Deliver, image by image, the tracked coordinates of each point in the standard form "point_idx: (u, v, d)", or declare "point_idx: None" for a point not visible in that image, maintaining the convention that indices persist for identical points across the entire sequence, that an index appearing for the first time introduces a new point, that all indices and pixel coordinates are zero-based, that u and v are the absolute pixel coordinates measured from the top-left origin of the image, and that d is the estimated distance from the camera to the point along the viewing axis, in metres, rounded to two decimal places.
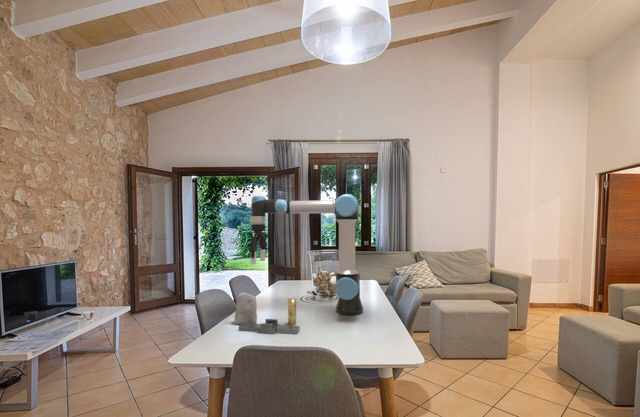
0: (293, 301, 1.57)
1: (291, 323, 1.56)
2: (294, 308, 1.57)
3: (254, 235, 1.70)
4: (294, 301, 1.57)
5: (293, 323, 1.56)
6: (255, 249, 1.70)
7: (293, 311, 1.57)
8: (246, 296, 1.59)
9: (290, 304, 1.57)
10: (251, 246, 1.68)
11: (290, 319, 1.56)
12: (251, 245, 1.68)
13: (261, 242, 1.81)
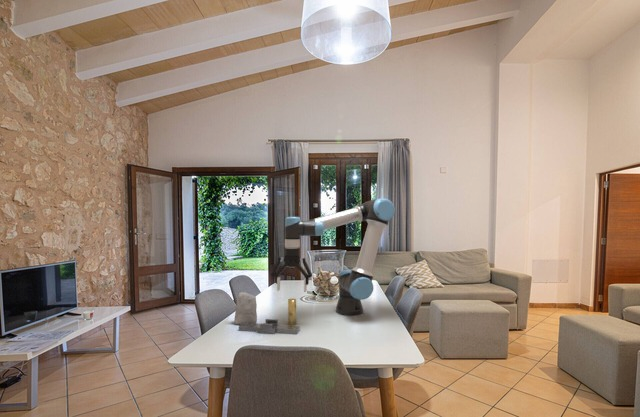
0: (293, 301, 1.57)
1: (291, 323, 1.56)
2: (294, 308, 1.57)
3: None
4: (294, 301, 1.57)
5: (293, 323, 1.56)
6: (277, 274, 1.59)
7: (293, 311, 1.57)
8: (246, 296, 1.59)
9: (290, 304, 1.57)
10: None
11: (290, 319, 1.56)
12: None
13: None
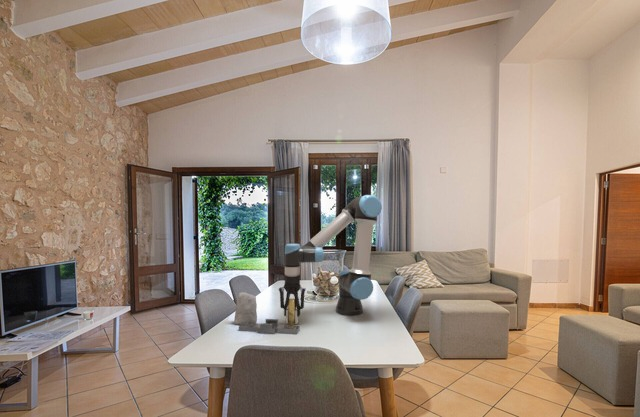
0: (293, 301, 1.57)
1: (291, 323, 1.56)
2: (294, 308, 1.57)
3: None
4: (294, 301, 1.57)
5: (293, 323, 1.56)
6: (286, 306, 1.58)
7: (293, 311, 1.57)
8: (246, 296, 1.59)
9: (290, 304, 1.57)
10: None
11: (290, 319, 1.56)
12: None
13: None
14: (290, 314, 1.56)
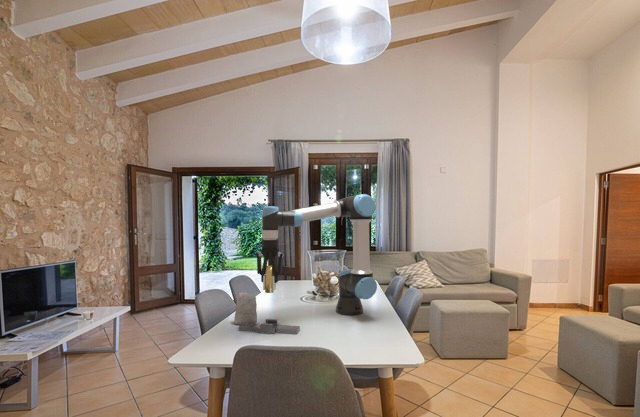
0: (270, 267, 1.48)
1: (268, 291, 1.48)
2: (271, 275, 1.48)
3: None
4: (271, 268, 1.49)
5: (270, 291, 1.48)
6: (263, 272, 1.49)
7: (270, 278, 1.48)
8: (246, 296, 1.59)
9: (267, 271, 1.48)
10: None
11: (267, 286, 1.48)
12: None
13: None
14: (267, 281, 1.48)
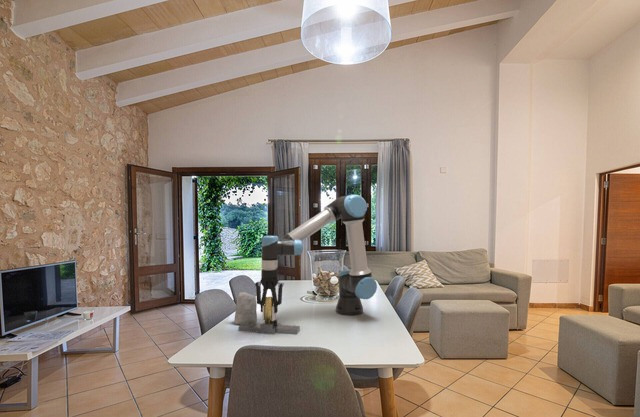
0: (270, 299, 1.47)
1: (267, 323, 1.47)
2: (271, 307, 1.48)
3: None
4: (271, 299, 1.48)
5: (270, 323, 1.47)
6: (262, 302, 1.48)
7: (270, 310, 1.47)
8: (246, 296, 1.59)
9: (267, 302, 1.47)
10: None
11: (266, 318, 1.47)
12: None
13: None
14: (267, 313, 1.47)
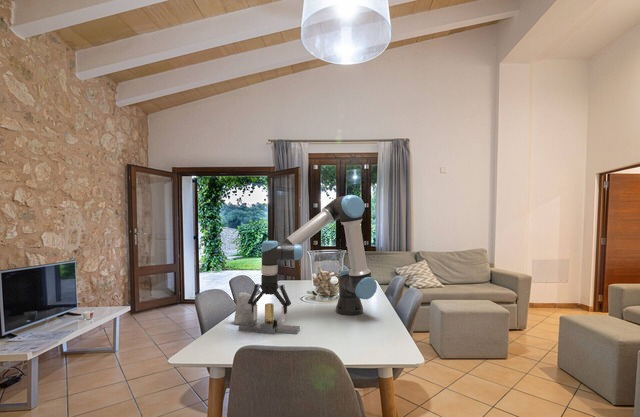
0: (270, 306, 1.47)
1: None
2: (271, 314, 1.48)
3: None
4: (271, 306, 1.48)
5: None
6: (254, 303, 1.49)
7: (270, 317, 1.47)
8: (246, 296, 1.59)
9: (267, 309, 1.47)
10: None
11: None
12: None
13: None
14: (267, 320, 1.47)
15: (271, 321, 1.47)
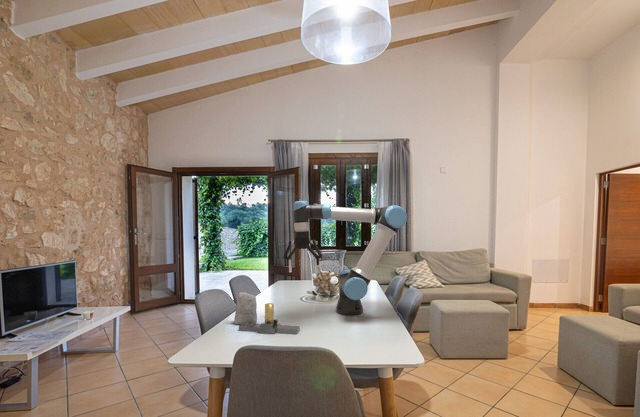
0: (270, 306, 1.47)
1: None
2: (271, 314, 1.48)
3: None
4: (271, 306, 1.48)
5: None
6: (289, 257, 1.66)
7: (270, 317, 1.47)
8: (246, 296, 1.59)
9: (267, 309, 1.47)
10: (285, 254, 1.67)
11: None
12: None
13: None
14: (267, 320, 1.47)
15: (271, 321, 1.47)
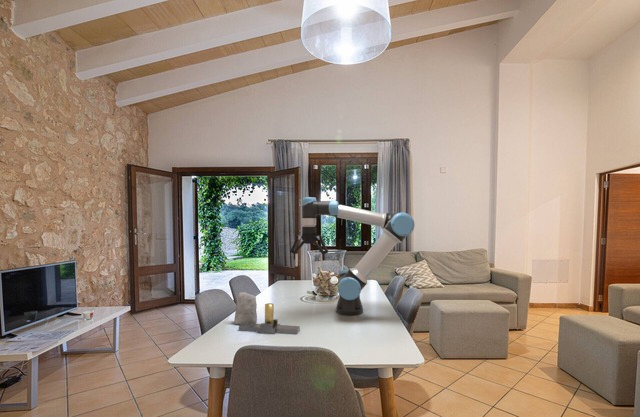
0: (270, 306, 1.47)
1: None
2: (271, 314, 1.48)
3: None
4: (271, 306, 1.48)
5: None
6: (295, 251, 1.70)
7: (270, 317, 1.47)
8: (246, 296, 1.59)
9: (267, 309, 1.47)
10: None
11: None
12: None
13: None
14: (267, 320, 1.47)
15: (271, 321, 1.47)
